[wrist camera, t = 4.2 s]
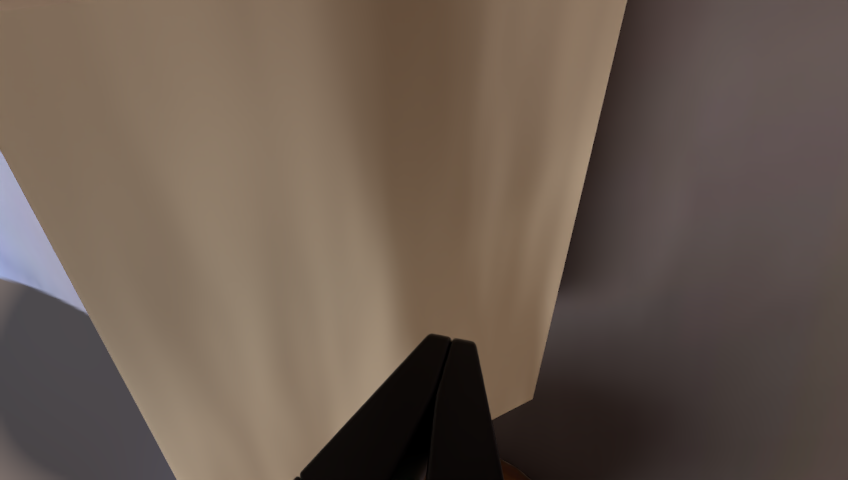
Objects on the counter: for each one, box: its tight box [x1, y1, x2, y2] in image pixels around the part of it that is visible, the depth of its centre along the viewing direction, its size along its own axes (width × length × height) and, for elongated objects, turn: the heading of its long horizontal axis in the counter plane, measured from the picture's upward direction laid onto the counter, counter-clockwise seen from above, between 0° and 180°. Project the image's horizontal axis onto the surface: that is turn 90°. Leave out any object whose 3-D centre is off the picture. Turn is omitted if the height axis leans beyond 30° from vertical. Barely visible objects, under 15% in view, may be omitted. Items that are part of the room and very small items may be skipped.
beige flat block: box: [0, 0, 627, 480], centre depth 12 cm, size 4×12×9 cm
